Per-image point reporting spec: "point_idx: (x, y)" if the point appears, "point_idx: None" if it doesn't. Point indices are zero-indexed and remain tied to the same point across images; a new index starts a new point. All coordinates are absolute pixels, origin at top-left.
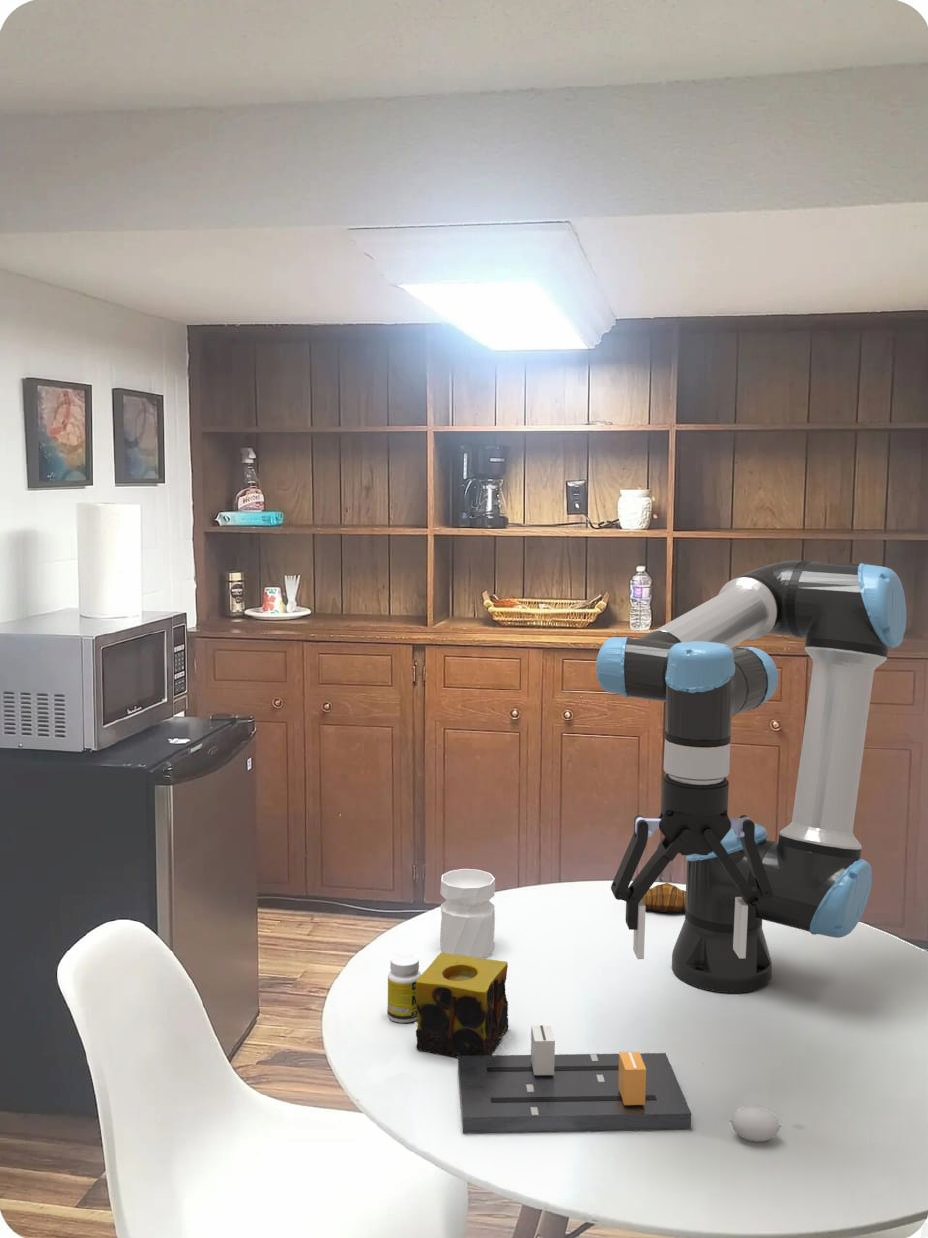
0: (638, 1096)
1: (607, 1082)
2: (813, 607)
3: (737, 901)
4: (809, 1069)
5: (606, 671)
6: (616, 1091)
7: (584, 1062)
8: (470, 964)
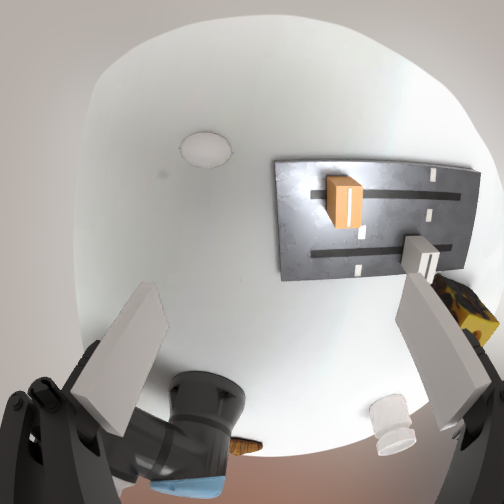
0: (336, 178)
1: None
2: None
3: (113, 421)
4: (144, 270)
5: None
6: None
7: (369, 261)
8: None
